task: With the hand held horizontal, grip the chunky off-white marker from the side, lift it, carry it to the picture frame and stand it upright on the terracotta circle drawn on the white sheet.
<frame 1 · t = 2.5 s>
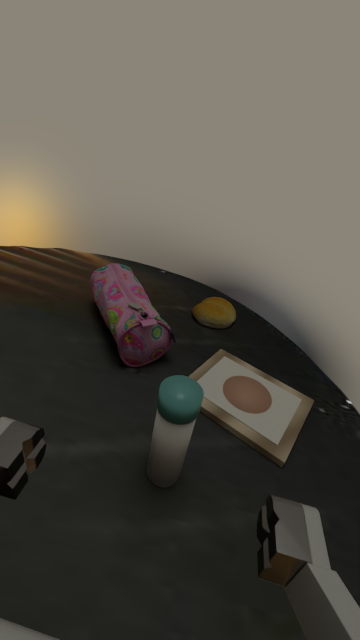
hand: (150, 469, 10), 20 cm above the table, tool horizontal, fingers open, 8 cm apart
picture frame: (244, 399, 42), on the table
bread roll: (212, 319, 61), on the table
pencil case: (126, 331, 52), on the table
marker: (163, 470, 31), on the table
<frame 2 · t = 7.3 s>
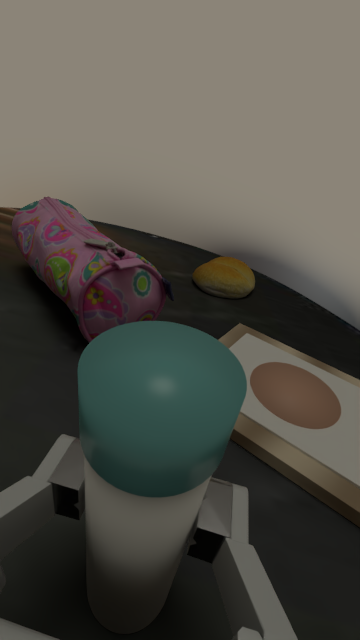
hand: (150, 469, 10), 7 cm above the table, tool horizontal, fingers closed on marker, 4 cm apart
picture frame: (288, 402, 24), on the table
bread roll: (221, 287, 43), on the table
pencil case: (82, 300, 33), on the table
marker: (129, 575, 13), on the table, touching gripper
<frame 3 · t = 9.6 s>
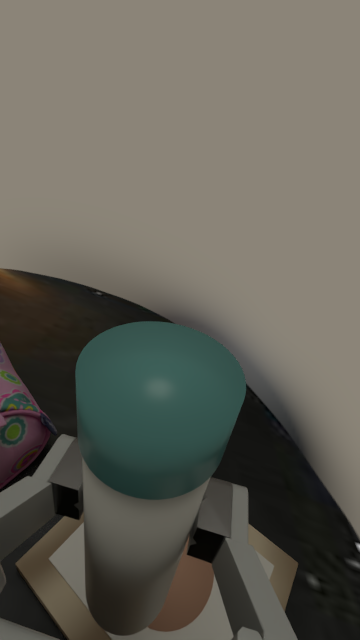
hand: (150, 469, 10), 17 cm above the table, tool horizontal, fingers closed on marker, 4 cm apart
picture frame: (164, 569, 22), on the table
marker: (128, 576, 13), point 11 cm above the table, touching gripper
when the fingers open (9 cm above the table, at t = 12.2 s): marker drops 1 cm, resting on picture frame.
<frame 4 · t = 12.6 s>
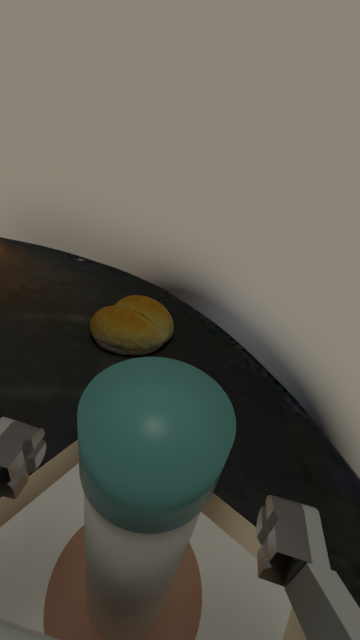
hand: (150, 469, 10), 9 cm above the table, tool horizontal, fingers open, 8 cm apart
picture frame: (125, 596, 14), on the table
bread roll: (132, 335, 33), on the table
marker: (127, 585, 13), point 1 cm above the table, touching picture frame
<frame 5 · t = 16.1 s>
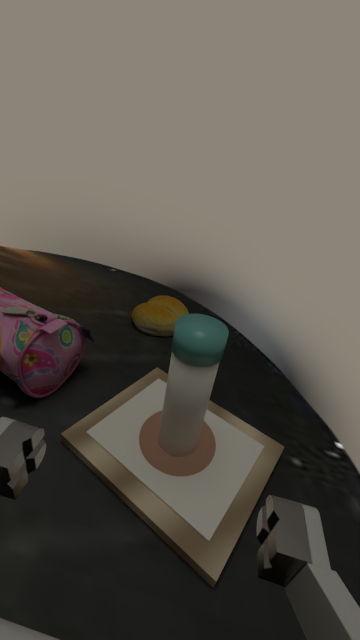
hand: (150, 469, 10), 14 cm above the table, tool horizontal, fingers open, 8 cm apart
picture frame: (175, 447, 27), on the table
bread roll: (160, 324, 47), on the table
pencil case: (1, 355, 35), on the table
marker: (177, 438, 27), point 1 cm above the table, touching picture frame
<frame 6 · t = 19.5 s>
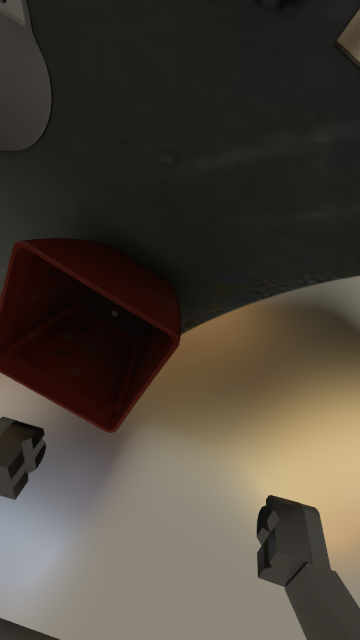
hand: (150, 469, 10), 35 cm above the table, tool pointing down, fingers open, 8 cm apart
plant pot: (124, 294, 48), on the table
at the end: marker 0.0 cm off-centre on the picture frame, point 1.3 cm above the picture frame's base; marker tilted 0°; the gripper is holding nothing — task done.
